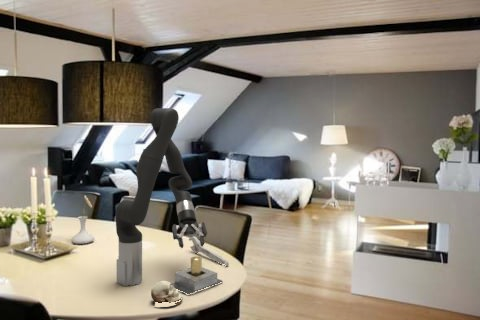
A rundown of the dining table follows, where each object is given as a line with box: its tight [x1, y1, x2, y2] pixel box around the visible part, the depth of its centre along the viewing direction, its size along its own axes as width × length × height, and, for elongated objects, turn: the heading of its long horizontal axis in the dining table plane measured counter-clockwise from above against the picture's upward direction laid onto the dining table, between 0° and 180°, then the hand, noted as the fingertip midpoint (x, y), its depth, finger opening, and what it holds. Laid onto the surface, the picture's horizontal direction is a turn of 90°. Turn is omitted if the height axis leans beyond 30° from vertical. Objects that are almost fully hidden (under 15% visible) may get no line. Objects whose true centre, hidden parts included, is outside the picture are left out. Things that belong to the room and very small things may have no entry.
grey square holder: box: [171, 267, 223, 294], centre depth 163 cm, size 18×12×5 cm, turn 137°
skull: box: [150, 280, 183, 306], centre depth 147 cm, size 12×10×10 cm
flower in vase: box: [71, 195, 95, 245], centre depth 217 cm, size 13×11×25 cm
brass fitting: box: [190, 256, 203, 277], centre depth 163 cm, size 4×4×10 cm
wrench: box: [188, 235, 230, 267], centre depth 196 cm, size 8×2×30 cm
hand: (192, 246), depth 167 cm, fingers open, 8 cm apart
